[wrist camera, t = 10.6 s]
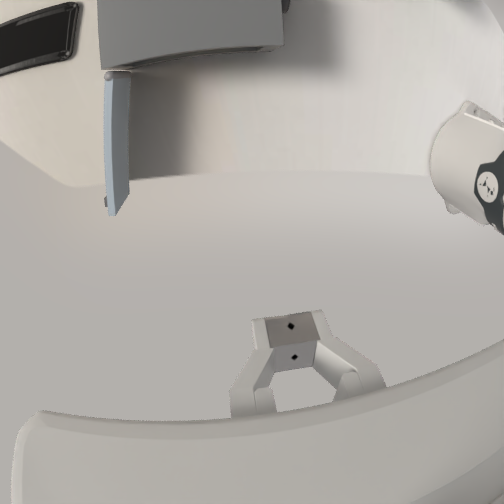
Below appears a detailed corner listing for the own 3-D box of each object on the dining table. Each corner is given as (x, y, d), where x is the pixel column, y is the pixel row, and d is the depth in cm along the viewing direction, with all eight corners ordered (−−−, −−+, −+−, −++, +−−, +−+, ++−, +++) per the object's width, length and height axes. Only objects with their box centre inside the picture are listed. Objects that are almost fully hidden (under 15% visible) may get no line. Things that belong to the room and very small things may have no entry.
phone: (69, 59, 22) (-18, 81, 20) (73, 59, 23) (-13, 80, 21) (78, -1, 18) (-12, 28, 16) (81, 0, 19) (-8, 29, 16)
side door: (130, 193, 33) (116, 215, 28) (115, 193, 33) (100, 215, 28) (132, 70, 25) (114, 70, 20) (116, 71, 25) (95, 72, 20)
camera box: (276, -22, 21) (291, -43, 15) (280, 51, 26) (297, 45, 21) (119, -3, 20) (97, -19, 14) (123, 69, 25) (101, 69, 19)
